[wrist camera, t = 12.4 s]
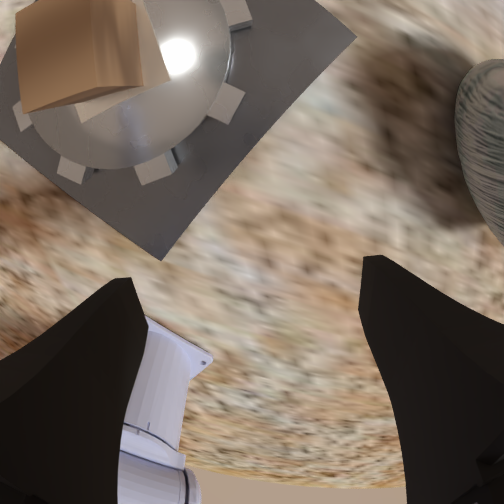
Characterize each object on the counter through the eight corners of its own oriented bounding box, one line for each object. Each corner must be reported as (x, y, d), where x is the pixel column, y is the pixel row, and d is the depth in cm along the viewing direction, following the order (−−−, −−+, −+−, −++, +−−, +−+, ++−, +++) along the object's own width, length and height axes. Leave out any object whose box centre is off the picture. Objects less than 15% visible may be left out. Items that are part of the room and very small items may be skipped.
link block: (143, 85, 13) (97, 87, 8) (82, 102, 13) (23, 114, 9) (135, 4, 11) (89, -24, 6) (74, 25, 11) (15, 13, 6)
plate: (162, 258, 20) (160, 262, 20) (-19, 119, 15) (-23, 120, 14) (355, 37, 14) (358, 36, 13) (121, -96, 8) (118, -99, 8)
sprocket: (287, 132, 16) (304, 152, 11) (70, 212, 18) (22, 254, 13) (208, -80, 9) (193, -130, 4) (7, 30, 11) (-51, 28, 6)
